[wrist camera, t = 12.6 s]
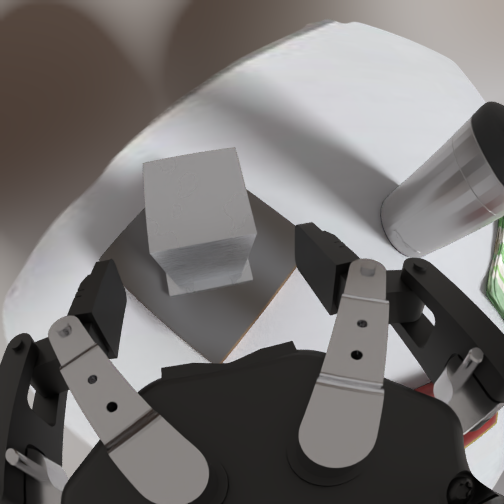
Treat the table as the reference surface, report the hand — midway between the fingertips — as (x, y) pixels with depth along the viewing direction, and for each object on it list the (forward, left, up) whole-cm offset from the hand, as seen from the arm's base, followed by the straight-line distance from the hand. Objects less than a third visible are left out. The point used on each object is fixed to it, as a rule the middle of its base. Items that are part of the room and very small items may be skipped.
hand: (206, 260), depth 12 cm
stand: (-2, -3, -15) cm, 16 cm away
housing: (-2, -3, -10) cm, 10 cm away
